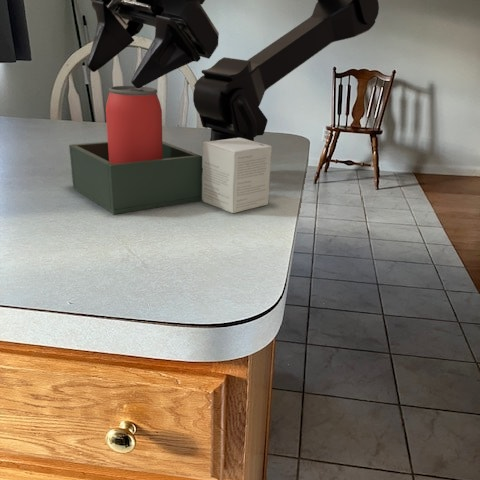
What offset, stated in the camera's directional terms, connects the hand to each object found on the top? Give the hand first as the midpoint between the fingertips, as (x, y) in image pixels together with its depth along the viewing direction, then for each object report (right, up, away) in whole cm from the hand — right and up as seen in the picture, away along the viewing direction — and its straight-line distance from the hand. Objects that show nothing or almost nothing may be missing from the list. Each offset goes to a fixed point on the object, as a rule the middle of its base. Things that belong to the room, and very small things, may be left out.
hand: (111, 77), depth 63 cm
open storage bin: (+2, -12, +6) cm, 14 cm away
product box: (+14, -14, +5) cm, 21 cm away
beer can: (+2, -12, +6) cm, 14 cm away
